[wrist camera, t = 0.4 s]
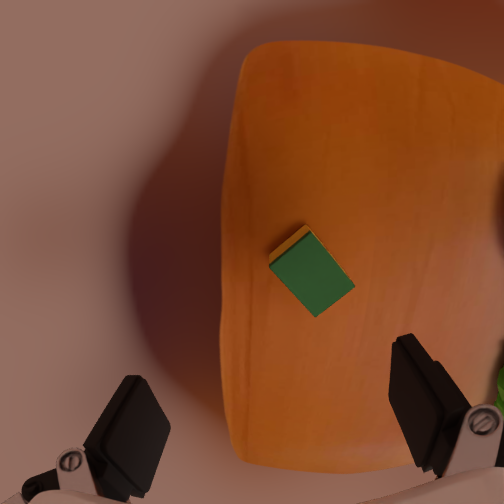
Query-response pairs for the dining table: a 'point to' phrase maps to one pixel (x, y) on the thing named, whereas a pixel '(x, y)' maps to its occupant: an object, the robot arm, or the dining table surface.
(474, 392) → the dining table surface
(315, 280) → the sponge
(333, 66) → the dining table surface
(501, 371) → the decorative tree
